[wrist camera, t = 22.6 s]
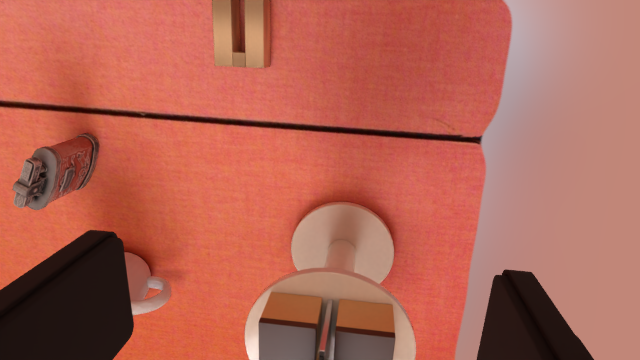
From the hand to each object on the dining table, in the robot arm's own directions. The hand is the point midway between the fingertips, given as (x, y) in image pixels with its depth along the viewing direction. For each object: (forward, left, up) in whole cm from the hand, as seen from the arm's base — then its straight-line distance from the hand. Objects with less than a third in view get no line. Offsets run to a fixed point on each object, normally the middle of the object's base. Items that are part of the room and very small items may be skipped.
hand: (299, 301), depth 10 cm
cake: (+15, +12, -20) cm, 28 cm away
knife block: (+1, -16, -38) cm, 42 cm away
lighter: (+30, -20, -38) cm, 53 cm away
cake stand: (+15, +12, -38) cm, 43 cm away
